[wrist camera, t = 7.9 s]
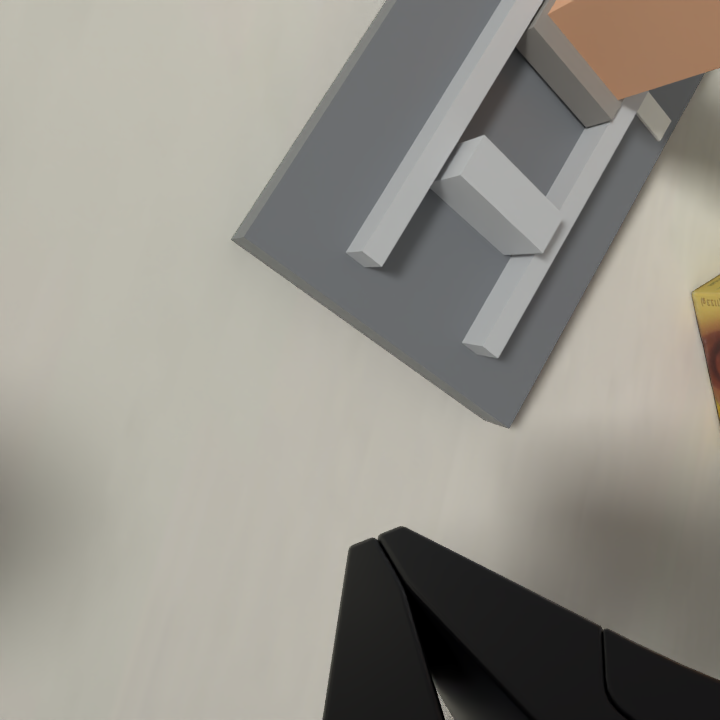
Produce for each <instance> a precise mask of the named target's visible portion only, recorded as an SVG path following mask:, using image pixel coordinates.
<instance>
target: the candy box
mask: <svg viewBox="0 0 720 720" xmlns="http://www.w3.org/2000/svg"><path fill="white" fill-rule="evenodd" d="M692 298H693V302H694V307H695V311H696V317H697V322H698V326H699V330H700V335H701V339H702V342H703V346H704V351H705V355H706V360H707V365H708V370H709V375H710V379H711V384H712V387H713V391H714V396H715V401H716V405H717V410H718V415H719V419H720V275H718V276H716V277H715V278H713V279H712V280H710V281H709V282H707V283H705V284H704V285H702V286H700V287H699V288H697V289H696V290H694V291H693V292H692Z"/></svg>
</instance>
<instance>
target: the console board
mask: <svg viewBox="0 0 720 720" xmlns="http://www.w3.org/2000/svg"><path fill="white" fill-rule="evenodd" d="M542 2H543V0H386V2H385V3H384V5H383V6H382V8H381V10H380V11H379V13H378V14H377V16H376V17H375V19H374V20H373V22H372V23H371V25H370V27H369V28H368V30H367V31H366V33H365V34H364V36H363V37H362V39H361V40H360V42H359V43H358V45H357V47H356V48H355V50H354V51H353V53H352V54H351V56H350V57H349V59H348V60H347V62H346V63H345V65H344V67H343V68H342V70H341V71H340V73H339V74H338V76H337V77H336V79H335V80H334V82H333V83H332V85H331V87H330V88H329V90H328V91H327V93H326V94H325V96H324V97H323V99H322V100H321V102H320V104H319V105H318V107H317V108H316V110H315V111H314V113H313V114H312V116H311V117H310V119H309V120H308V122H307V124H306V125H305V127H304V128H303V130H302V131H301V133H300V134H299V136H298V137H297V139H296V140H295V142H294V144H293V145H292V147H291V148H290V150H289V151H288V153H287V154H286V156H285V157H284V159H283V161H282V162H281V164H280V165H279V167H278V168H277V170H276V171H275V173H274V174H273V176H272V177H271V179H270V181H269V182H268V184H267V185H266V187H265V188H264V190H263V191H262V193H261V194H260V196H259V197H258V199H257V201H256V202H255V204H254V205H253V207H252V208H251V210H250V211H249V213H248V214H247V216H246V217H245V219H244V221H243V222H242V224H241V225H240V227H239V228H238V230H237V231H236V233H235V234H234V236H233V238H232V239H231V240H232V241H234V242H235V243H236V244H238V245H239V246H241V247H242V248H243V249H245V250H246V251H248V252H249V253H250V254H252V255H253V256H255V257H256V258H257V259H259V260H260V261H262V262H263V263H264V264H266V265H267V266H269V267H270V268H271V269H273V270H274V271H276V272H277V273H279V274H280V275H281V276H283V277H284V278H286V279H287V280H288V281H290V282H291V283H293V284H294V285H295V286H297V287H298V288H300V289H301V290H302V291H304V292H305V293H307V294H308V295H309V296H311V297H312V298H314V299H315V300H316V301H318V302H319V303H321V304H322V305H323V306H325V307H326V308H328V309H329V310H330V311H332V312H333V313H335V314H336V315H337V316H339V317H340V318H342V319H343V320H344V321H346V322H347V323H349V324H350V325H351V326H353V327H354V328H356V329H357V330H358V331H360V332H361V333H363V334H364V335H365V336H367V337H368V338H370V339H371V340H372V341H374V342H375V343H377V344H378V345H380V346H381V347H382V348H384V349H385V350H387V351H388V352H389V353H391V354H392V355H394V356H395V357H396V358H398V359H399V360H401V361H402V362H403V363H405V364H406V365H408V366H409V367H410V368H412V369H413V370H415V371H416V372H417V373H419V374H420V375H422V376H423V377H424V378H426V379H427V380H429V381H430V382H431V383H433V384H434V385H436V386H437V387H438V388H440V389H441V390H443V391H444V392H445V393H447V394H448V395H450V396H451V397H452V398H454V399H455V400H457V401H458V402H459V403H461V404H462V405H464V406H465V407H466V408H468V409H469V410H471V411H472V412H474V413H475V414H476V415H478V416H479V417H481V418H482V419H483V420H485V421H488V422H491V423H494V424H497V425H500V426H503V427H506V428H510V426H511V424H512V422H513V421H514V419H515V417H516V415H517V413H518V412H519V410H520V408H521V406H522V404H523V402H524V401H525V399H526V397H527V395H528V393H529V392H530V390H531V388H532V386H533V384H534V382H535V381H536V379H537V377H538V375H539V373H540V372H541V370H542V368H543V366H544V364H545V362H546V361H547V359H548V357H549V355H550V353H551V352H552V350H553V348H554V346H555V344H556V342H557V341H558V339H559V337H560V335H561V333H562V332H563V330H564V328H565V326H566V324H567V322H568V321H569V319H570V317H571V315H572V313H573V312H574V310H575V308H576V306H577V304H578V303H579V301H580V299H581V297H582V295H583V293H584V292H585V290H586V288H587V286H588V284H589V283H590V281H591V279H592V277H593V275H594V273H595V272H596V270H597V268H598V266H599V264H600V263H601V261H602V259H603V257H604V255H605V253H606V252H607V250H608V248H609V246H610V244H611V243H612V241H613V239H614V237H615V235H616V233H617V232H618V230H619V228H620V226H621V224H622V223H623V221H624V219H625V217H626V215H627V214H628V212H629V210H630V208H631V206H632V204H633V203H634V201H635V199H636V197H637V195H638V194H639V192H640V190H641V188H642V186H643V184H644V183H645V181H646V179H647V177H648V175H649V174H650V172H651V170H652V168H653V166H654V164H655V163H656V161H657V159H658V157H659V155H660V154H661V152H662V150H663V148H664V146H665V144H666V143H667V141H668V139H669V137H670V135H671V134H672V132H673V130H674V128H675V126H676V124H677V123H678V121H679V119H680V117H681V115H682V114H683V112H684V110H685V108H686V106H687V105H688V103H689V101H690V99H691V97H692V95H693V94H694V92H695V90H696V88H697V86H698V85H699V83H700V81H701V79H702V77H703V75H704V74H705V73H702V74H699V75H696V76H692V77H689V78H686V79H683V80H680V81H677V82H674V83H670V84H667V85H664V86H661V87H658V88H655V89H652V90H648V91H645V92H642V93H639V94H636V95H633V96H630V97H626V98H624V100H623V102H622V104H621V105H620V107H619V109H618V111H617V112H616V114H615V116H614V118H613V119H612V120H611V121H607V122H604V123H600V124H597V125H593V126H590V127H585V126H584V124H583V123H582V122H581V121H580V120H579V119H578V118H577V117H576V115H575V114H574V113H573V112H572V111H571V110H570V109H569V107H568V106H567V105H566V104H565V103H564V102H563V101H562V99H561V98H560V97H559V96H558V95H557V94H556V93H555V91H554V90H553V89H552V88H551V87H550V86H549V85H548V83H547V82H546V81H545V80H544V79H543V78H542V77H541V75H540V74H539V73H538V72H537V71H536V70H535V69H534V67H533V66H532V65H531V64H530V63H529V62H528V61H527V59H526V58H525V57H524V56H523V55H522V54H521V53H520V51H519V50H518V49H517V48H516V47H515V46H516V45H517V43H518V41H519V40H520V38H521V36H522V35H523V33H524V31H525V30H526V28H527V26H528V25H529V23H530V22H531V20H532V18H533V17H534V15H535V13H536V12H537V10H538V8H539V7H540V5H541V3H542Z"/></svg>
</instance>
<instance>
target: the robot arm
mask: <svg viewBox="0 0 720 720" xmlns="http://www.w3.org/2000/svg"><path fill="white" fill-rule="evenodd" d="M435 687H436V688H435ZM436 689H437V691H438V693H439V694H440V696H441V698H442V700H443V701H444V703H445V705H446V706H447V708H448V710H449V711H450V713H451V715H452V716H453V718H454V720H720V680H718V679H715V678H713V677H710V676H708V675H706V674H703V673H701V672H698V671H696V670H694V669H691V668H689V667H687V666H684V665H682V664H680V663H678V662H675V661H673V660H671V659H669V658H667V657H665V656H663V655H661V654H659V653H656V652H654V651H652V650H650V649H648V648H646V647H644V646H642V645H640V644H637V643H635V642H633V641H631V640H629V639H627V638H625V637H623V636H621V635H620V634H618V633H616V632H614V631H612V630H610V629H604V630H602V627H601V626H600V625H598V624H596V623H594V622H592V621H590V620H588V619H586V618H584V617H582V616H580V615H578V614H576V613H574V612H572V611H570V610H568V609H566V608H564V607H562V606H560V605H558V604H556V603H554V602H552V601H550V600H548V599H546V598H544V597H542V596H540V595H538V594H536V593H535V592H533V591H531V590H529V589H527V588H525V587H523V586H521V585H519V584H517V583H515V582H513V581H511V580H509V579H507V578H505V577H503V576H501V575H499V574H497V573H495V572H493V571H491V570H489V569H487V568H485V567H483V566H481V565H479V564H477V563H475V562H473V561H471V560H469V559H467V558H465V557H463V556H461V555H460V554H458V553H456V552H454V551H452V550H450V549H448V548H446V547H444V546H442V545H440V544H438V543H436V542H434V541H432V540H430V539H428V538H426V537H424V536H422V535H420V534H418V533H416V532H414V531H412V530H410V529H408V528H406V527H403V526H400V527H397V528H395V529H392V530H389V531H387V532H384V533H382V534H380V535H379V536H378V540H377V539H375V538H369V539H367V540H364V541H362V542H359V543H357V544H354V545H352V546H351V547H350V548H349V551H348V556H347V563H346V569H345V576H344V582H343V589H342V596H341V602H340V609H339V615H338V622H337V628H336V635H335V641H334V648H333V654H332V661H331V667H330V674H329V680H328V687H327V693H326V700H325V707H324V713H323V720H445V718H444V715H443V711H442V708H441V704H440V701H439V698H438V694H437V691H436Z"/></svg>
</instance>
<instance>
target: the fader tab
mask: <svg viewBox="0 0 720 720" xmlns="http://www.w3.org/2000/svg"><path fill="white" fill-rule="evenodd" d="M515 47H516V48H517V49H518V50H519V51H520V53H521V54H522V55H523V56H524V57H525V58H526V59H527V61H528V62H529V63H530V64H531V65H532V66H533V67H534V69H535V70H536V71H537V72H538V73H539V74H540V75H541V77H542V78H543V79H544V80H545V81H546V82H547V83H548V85H549V86H550V87H551V88H552V89H553V90H554V91H555V93H556V94H557V95H558V96H559V97H560V98H561V99H562V101H563V102H564V103H565V104H566V105H567V106H568V107H569V109H570V110H571V111H572V112H573V113H574V114H575V115H576V117H577V118H578V119H579V120H580V121H581V122H582V123H583V124H584V126H585V127H590V126H593V125H597V124H600V123H604V122H607V121H611V120H612V119H613V118H614V116H615V114H616V112H617V111H618V109H619V107H620V105H621V104H622V102H623V100H624V98H626V97H630V96H633V95H636V94H639V93H642V92H645V91H648V90H652V89H655V88H658V87H661V86H664V85H667V84H670V83H674V82H677V81H680V80H683V79H686V78H689V77H692V76H696V75H699V74H702V73H705V72H708V71H711V70H714V69H718V68H720V0H543V2H542V3H541V5H540V7H539V8H538V10H537V12H536V13H535V15H534V17H533V18H532V20H531V22H530V23H529V25H528V26H527V28H526V30H525V31H524V33H523V35H522V36H521V38H520V40H519V41H518V43H517V45H516V46H515Z"/></svg>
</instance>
